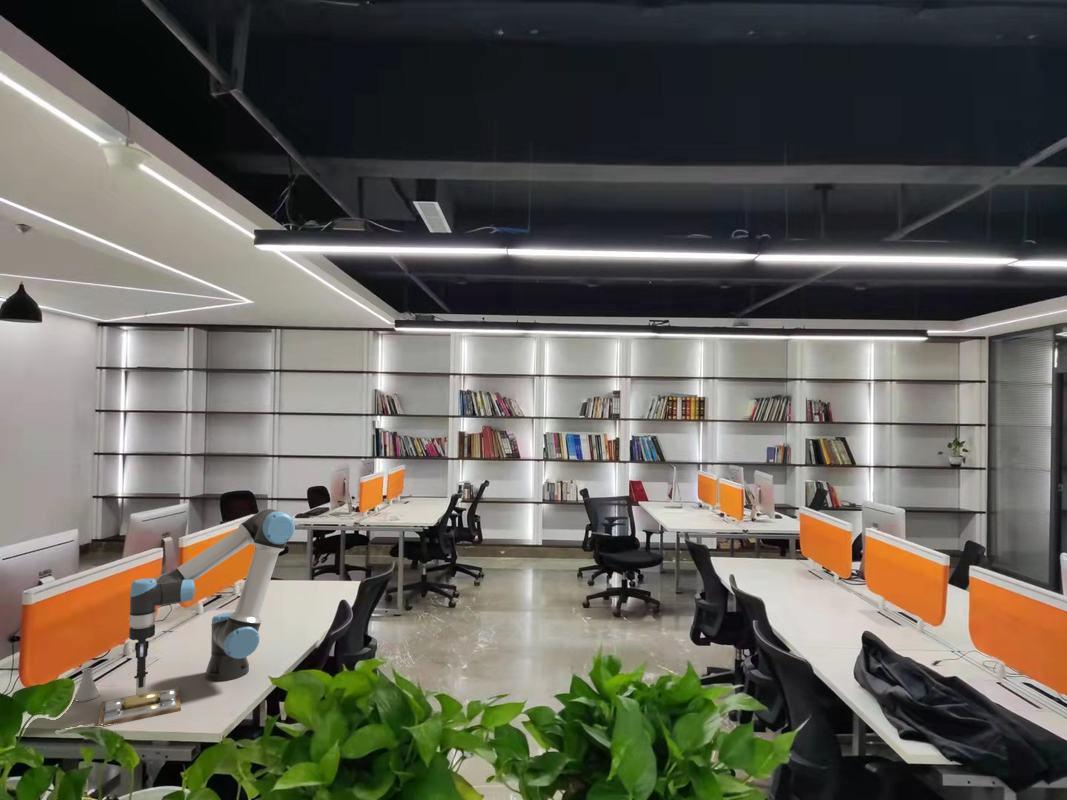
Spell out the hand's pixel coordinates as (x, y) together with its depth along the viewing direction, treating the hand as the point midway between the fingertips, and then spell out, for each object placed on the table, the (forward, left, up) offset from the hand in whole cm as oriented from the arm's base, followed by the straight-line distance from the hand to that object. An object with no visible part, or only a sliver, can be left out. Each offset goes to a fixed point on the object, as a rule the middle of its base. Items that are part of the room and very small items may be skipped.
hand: (140, 695), depth 217 cm
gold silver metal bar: (0, +1, -3) cm, 3 cm away
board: (0, 0, -4) cm, 4 cm away
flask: (+16, -20, -4) cm, 26 cm away
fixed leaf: (0, +5, -3) cm, 6 cm away
